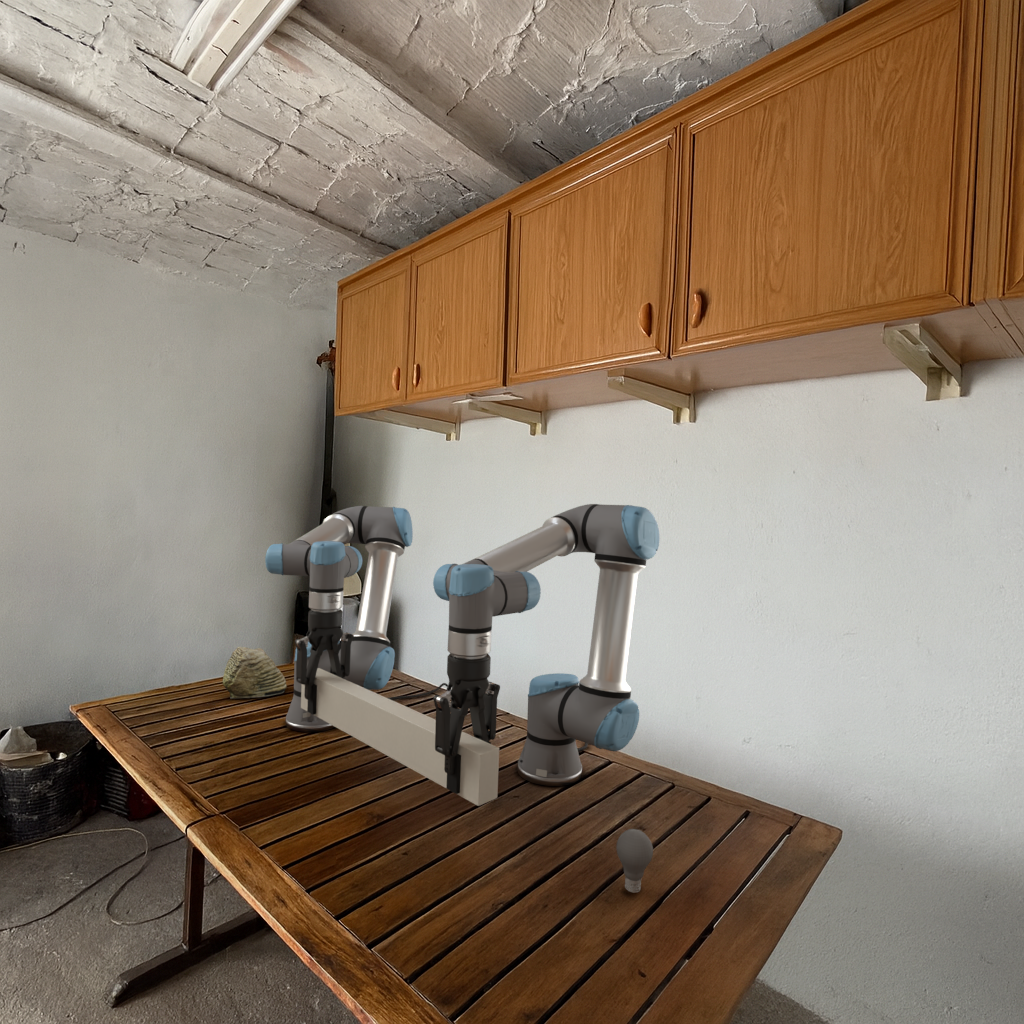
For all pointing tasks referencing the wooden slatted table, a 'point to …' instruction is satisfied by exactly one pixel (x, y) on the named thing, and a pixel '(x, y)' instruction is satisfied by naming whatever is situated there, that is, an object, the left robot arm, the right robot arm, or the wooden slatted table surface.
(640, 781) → the wooden slatted table surface
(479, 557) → the right robot arm
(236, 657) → the fossil
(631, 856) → the light bulb
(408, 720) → the bar
